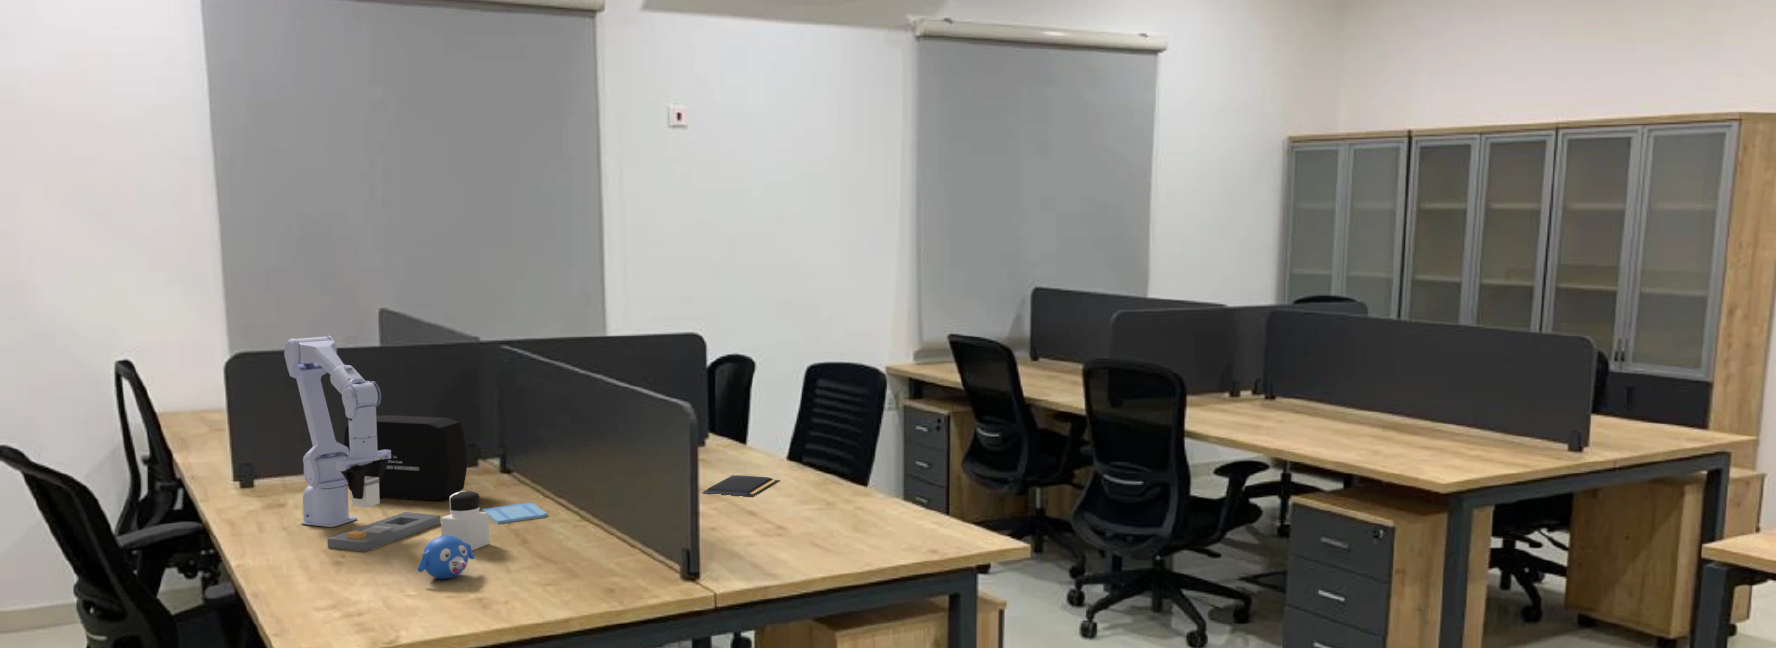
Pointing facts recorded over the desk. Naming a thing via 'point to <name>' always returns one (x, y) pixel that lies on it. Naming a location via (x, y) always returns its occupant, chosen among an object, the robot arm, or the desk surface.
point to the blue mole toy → (445, 557)
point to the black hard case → (420, 457)
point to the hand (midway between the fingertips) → (365, 496)
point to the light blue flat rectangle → (515, 513)
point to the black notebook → (741, 486)
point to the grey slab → (383, 531)
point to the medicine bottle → (466, 520)
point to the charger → (368, 493)
